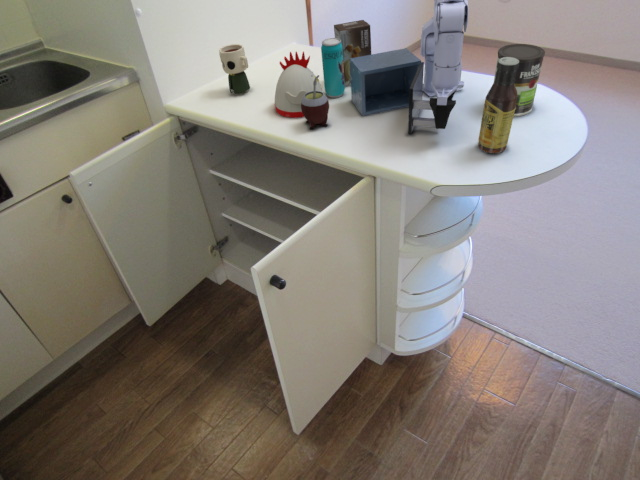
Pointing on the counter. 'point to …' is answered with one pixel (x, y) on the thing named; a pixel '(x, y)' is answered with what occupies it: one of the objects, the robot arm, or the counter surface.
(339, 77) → the beverage can
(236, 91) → the character mug
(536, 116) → the counter surface
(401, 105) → the blue-gray cabinet body
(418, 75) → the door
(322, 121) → the mate gourd
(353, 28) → the coffee box
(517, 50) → the coffee can
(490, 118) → the sauce bottle
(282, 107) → the white chicken figure
